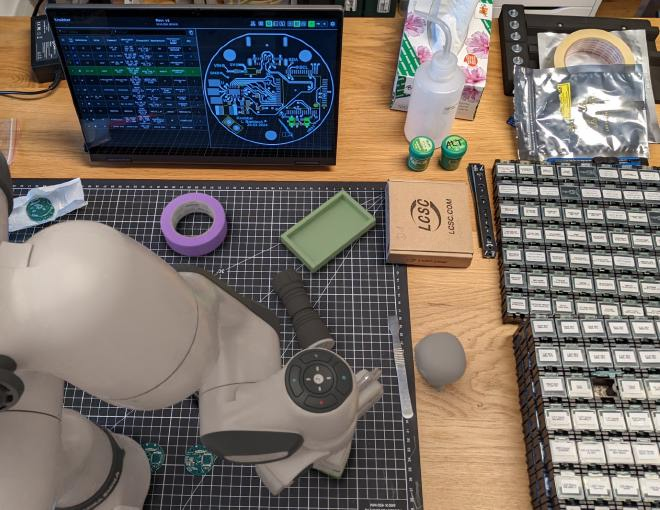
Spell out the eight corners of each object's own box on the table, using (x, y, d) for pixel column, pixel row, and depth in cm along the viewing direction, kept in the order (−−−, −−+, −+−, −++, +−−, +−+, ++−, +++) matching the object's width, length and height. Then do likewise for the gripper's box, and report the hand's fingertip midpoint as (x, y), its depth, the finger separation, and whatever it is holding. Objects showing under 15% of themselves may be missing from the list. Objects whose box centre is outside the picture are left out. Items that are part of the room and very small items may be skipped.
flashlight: (270, 287, 110) (267, 273, 106) (298, 276, 111) (296, 261, 107) (305, 362, 103) (304, 350, 99) (334, 349, 105) (335, 337, 100)
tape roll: (206, 193, 120) (203, 181, 117) (239, 234, 116) (237, 223, 112) (153, 224, 116) (148, 213, 113) (185, 268, 112) (181, 257, 109)
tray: (313, 273, 112) (313, 268, 110) (280, 241, 115) (280, 235, 113) (375, 224, 117) (376, 219, 115) (342, 195, 120) (342, 189, 118)
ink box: (351, 451, 97) (355, 433, 86) (339, 481, 94) (341, 467, 84) (301, 428, 98) (299, 407, 88) (287, 458, 96) (283, 440, 86)
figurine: (403, 357, 104) (412, 330, 94) (447, 350, 105) (461, 322, 94) (414, 404, 100) (425, 381, 90) (459, 397, 101) (475, 373, 90)
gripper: (364, 347, 82) (360, 380, 94) (242, 454, 75) (255, 474, 87) (398, 382, 80) (390, 410, 92) (275, 495, 73) (284, 510, 85)
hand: (323, 442), depth 89 cm, fingers open, 8 cm apart
